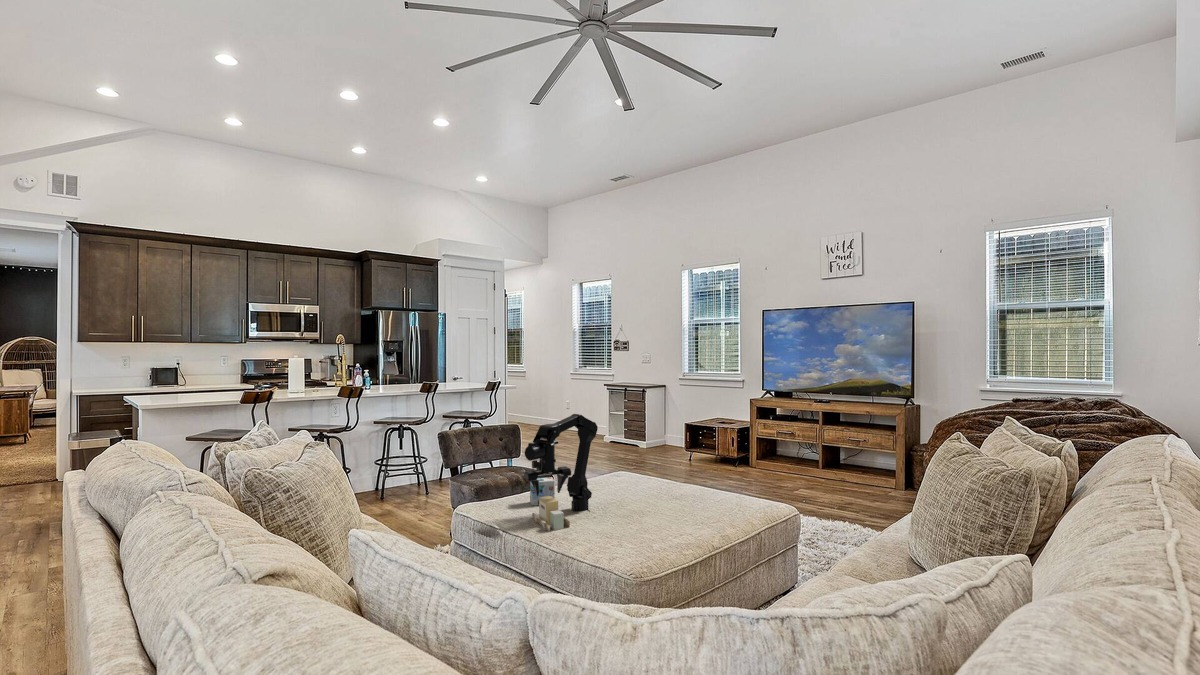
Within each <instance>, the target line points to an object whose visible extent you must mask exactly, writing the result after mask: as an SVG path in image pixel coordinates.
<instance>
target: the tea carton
mask: <svg viewBox="0 0 1200 675" xmlns="http://www.w3.org/2000/svg"><path fill="white" fill-rule="evenodd" d="M538 506H539V508H538V516H539V517H540V518H541V519H542V520H544V521H545V522H546V523H547V524H548V525H550V511H556V510H559V500H557V499H556V498H555V499H554V498H553V497H551V496H545V497H539V505H538Z"/></svg>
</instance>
